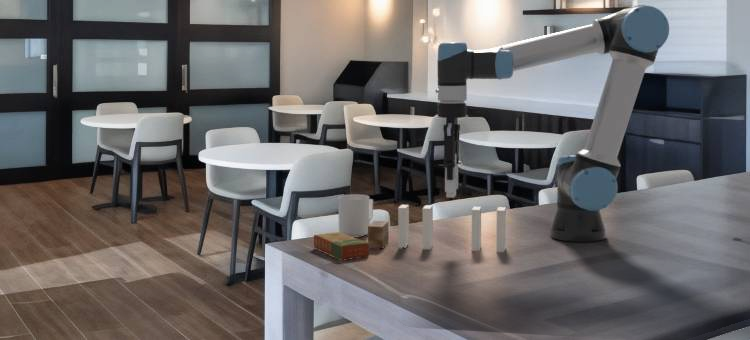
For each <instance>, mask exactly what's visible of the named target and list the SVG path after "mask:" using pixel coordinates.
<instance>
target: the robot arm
mask: <svg viewBox="0 0 750 340" xmlns="http://www.w3.org/2000/svg"><path fill="white" fill-rule="evenodd" d="M669 35H670V24H669V21H668V18H667V17H666V15H665V13H664V12H663V11H661V9H659V8H657V7H655V6H651V5H645V4H640V5H635V6H632V7H627V8H623V9H621V10H620V11H617V12H614V13H612V14H609V15H607V16H604V17H601V18H596V19H594V20H593V21H592V22H591V24H588V25H583V26H578V27H576V28H575V27H574V28H571V29H567V30H563V31H558V32H554V33H550V34H547V35H541V36H537V37H533V38H529V39H525V40H520V41H517V42H513V43H508V44H505V45H500V46H496V47H492V48H486V49H468V46H467V45H468V44H467V43H466V42H441V43H440V44H439V45H438V47H437V61H436V62H437V88H436V89H435V90H434V91H435V93H436V94H437V100H438V103H437V117H438V118H442V119H443V118H445V124H443V127H442V128H443V141H444V143H443V144H444V146H443V147H444V148H443V164H442V165H441V167H442V168H444V192H445V193H446V192H456V193H457V190H459V165H461V164H462V161H461V160H460V130H461V124H460V123H459V122H458V119H459V118H466V117H467V103H466V101H467V98H468V97H467V96H468V94H467V93H468V89H467V88H468V87H467V80H469V79H470V80H506V79H510V78H512V77H513V73H514V72H516V71H520V70H525V69H529V68H533V67H538V66H543V65H546V64H550V63H554V62H559V61H563V60H568V59H572V58H576V57H581V56H586V55H589V54H594V53H598V54H600V55H604V54H605V55H606V54H609V55H610V57H611V59H612V61H611V65H610V68H609V70H608V74H607V76H606V80H605V82H604V86H603V89H602V92H601V96H600V98H599V102H598V105H597V107H596V111H595V115H594V117H593V121H592V123H591V127H590V131H589V133H588V137H587V140H586V143H585V145H584V147H583V148H582V149H581V150H579V151H577V152H576V155H562V156H559V158H558V160H557V165H556V169H557V171H556V172H557V173H556V174H557V180H556V181H557V186H556V189H557V190H556V191H557V192H556V193H557V194H556V195H557V196H556V211H555V213H554V216H553V219H552V222H551V225H550V230H549V235H550V238H553V239H556V240H559V241H564V242H565V241H566V242H576V243H577V242H578V243H585V242H586V243H589V242H598V241H603V240H604V239H605V238H606V228H605V224H604V222H603V218H602V214H601V212H600V210H603V209H605V208H607V207H608V206H610V205H611V204H612V203H613V202H614V201H615V199H616V197H617V194H618V181H617V178H618V174H619V173H620V169H621V166H622V165H621V163H620V160H618V159H619V158H618V156H619V152H620V150H621V146H622V143H623V140H624V136H625V134H626V130H627V127H628V124H629V121H630V118H631V115H632V113H633V109H634V106H635V103H636V100H637V97H638V93H639V91H640V88H641V84H642V82H643V78H644V75H645V72H646V70H647V68H649V67H650V66H651V67H652V66H653V65H654V63H655V61H656V58H657V54H658V52H659V49H661V48H662V47H663V46H664V44H665V43H666V42H667V40H668V38H669ZM455 154H456V167H455Z"/></svg>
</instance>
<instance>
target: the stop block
mask: <svg viewBox="0 0 750 340" xmlns="http://www.w3.org/2000/svg"><path fill="white" fill-rule="evenodd" d="M389 237H390V236H389V221H387V220H373V221H372V222H371V223H370V225H369V226H368V234H367V243H368V244H369V249H370V248H383V247H384V246H385V245H386V244H387V243H388V241H389ZM389 242H390V241H389ZM388 244H389V243H388ZM388 244H387V245H388ZM387 245H386V246H387ZM386 246H385V247H386ZM385 247H384V248H385ZM384 248H383V249H384Z"/></svg>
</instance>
